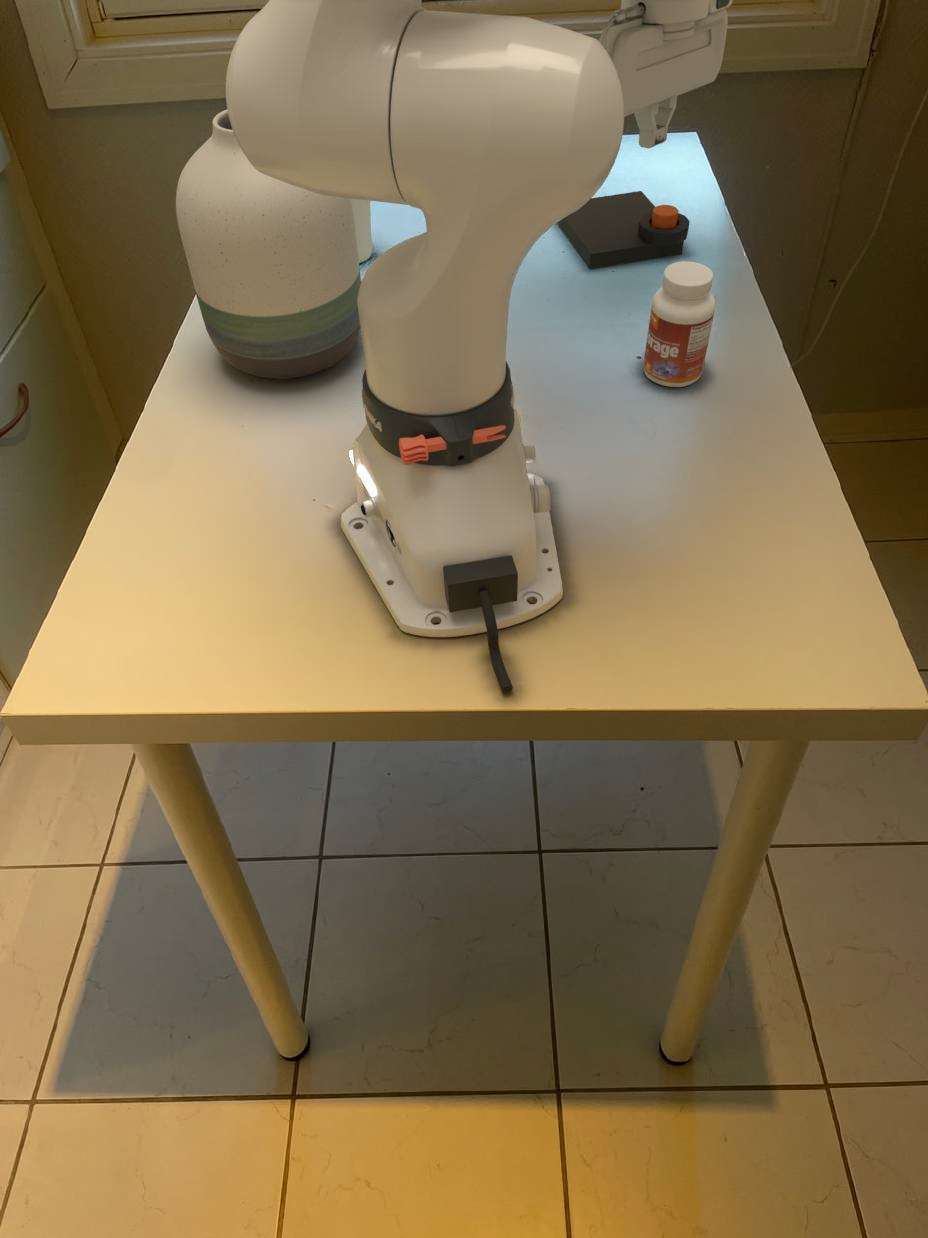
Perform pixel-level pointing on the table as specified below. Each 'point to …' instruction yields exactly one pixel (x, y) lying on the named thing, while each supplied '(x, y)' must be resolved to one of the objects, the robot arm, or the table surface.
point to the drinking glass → (362, 228)
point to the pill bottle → (680, 325)
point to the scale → (621, 231)
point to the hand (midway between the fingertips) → (652, 144)
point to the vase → (267, 262)
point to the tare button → (664, 216)
